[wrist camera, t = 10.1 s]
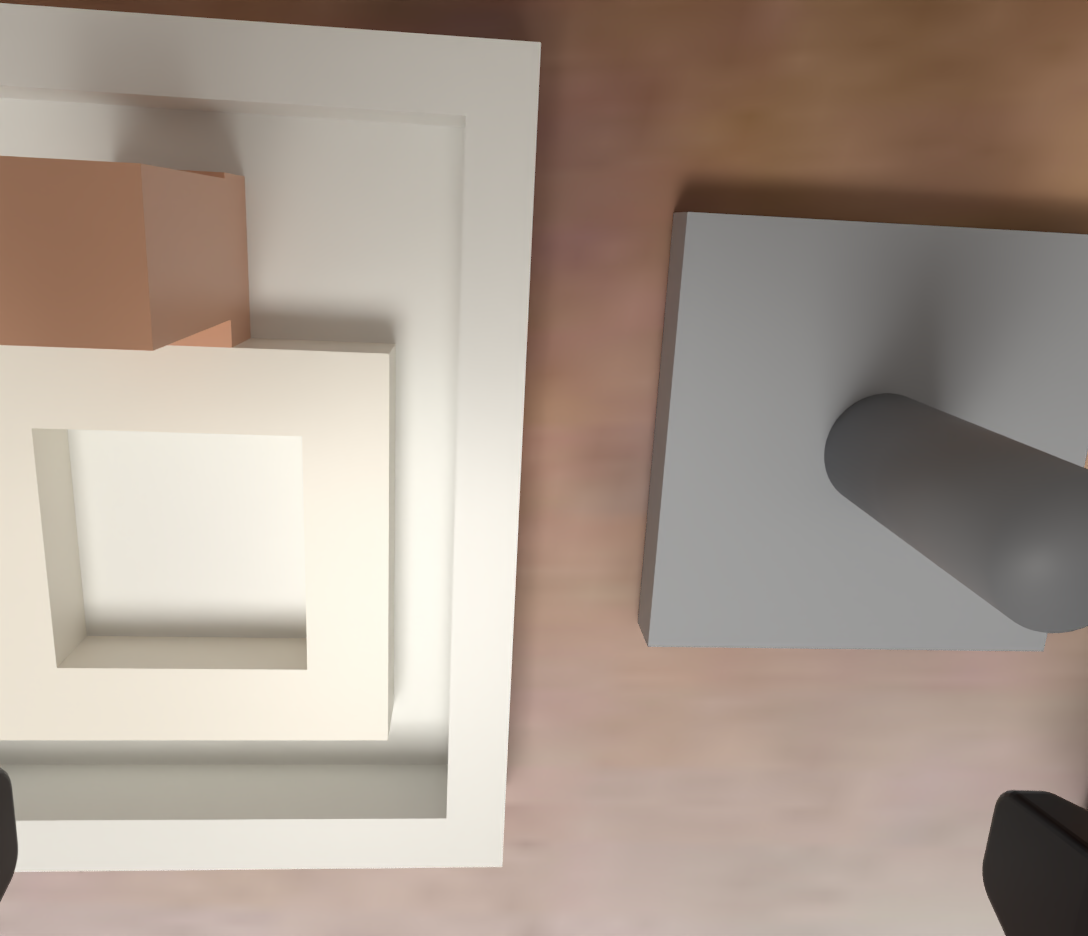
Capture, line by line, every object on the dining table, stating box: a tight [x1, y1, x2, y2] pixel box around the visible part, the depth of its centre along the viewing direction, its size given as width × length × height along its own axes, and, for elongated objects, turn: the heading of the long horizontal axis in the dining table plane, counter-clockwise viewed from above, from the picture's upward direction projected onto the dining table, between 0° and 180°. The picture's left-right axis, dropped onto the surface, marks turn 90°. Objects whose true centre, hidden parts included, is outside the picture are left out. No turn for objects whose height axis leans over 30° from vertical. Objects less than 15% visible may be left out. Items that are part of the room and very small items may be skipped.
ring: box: [0, 156, 396, 740], centre depth 15 cm, size 8×11×5 cm
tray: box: [0, 3, 541, 872], centre depth 17 cm, size 13×16×2 cm
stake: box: [638, 212, 1088, 651], centre depth 16 cm, size 9×9×7 cm
